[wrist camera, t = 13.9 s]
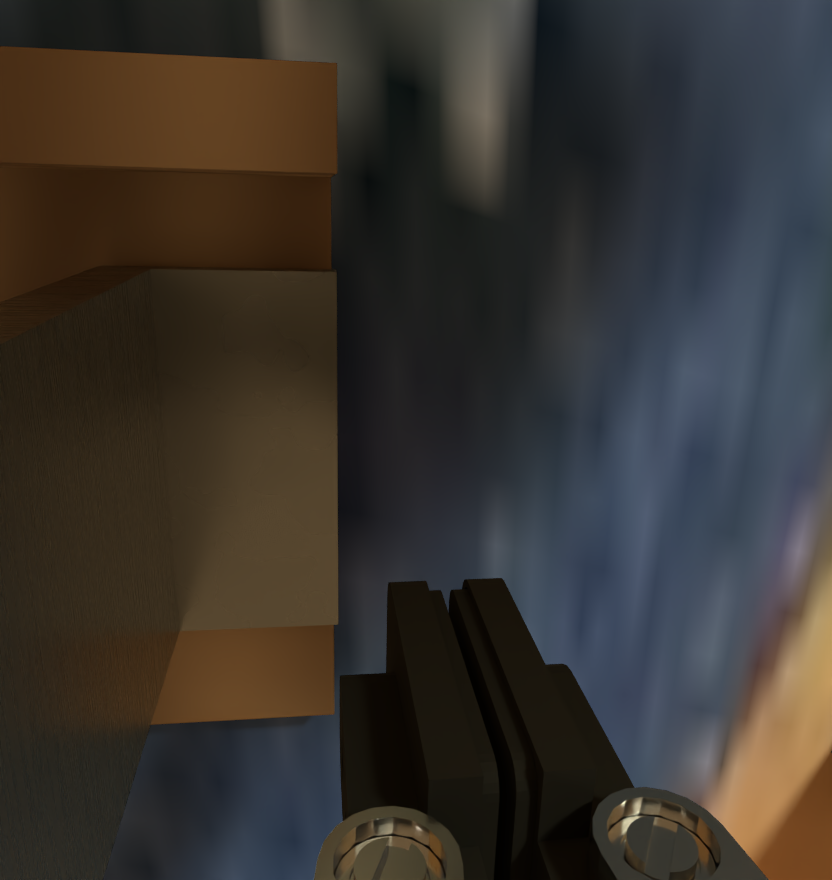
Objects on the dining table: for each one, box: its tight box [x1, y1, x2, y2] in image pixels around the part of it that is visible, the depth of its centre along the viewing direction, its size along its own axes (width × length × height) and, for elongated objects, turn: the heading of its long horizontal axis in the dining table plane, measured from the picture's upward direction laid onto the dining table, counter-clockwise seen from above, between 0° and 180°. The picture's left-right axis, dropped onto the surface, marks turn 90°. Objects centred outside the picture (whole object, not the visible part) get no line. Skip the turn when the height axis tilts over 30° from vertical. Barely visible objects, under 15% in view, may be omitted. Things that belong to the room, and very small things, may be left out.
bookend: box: [0, 265, 338, 880], centre depth 12 cm, size 5×9×14 cm, turn 179°
